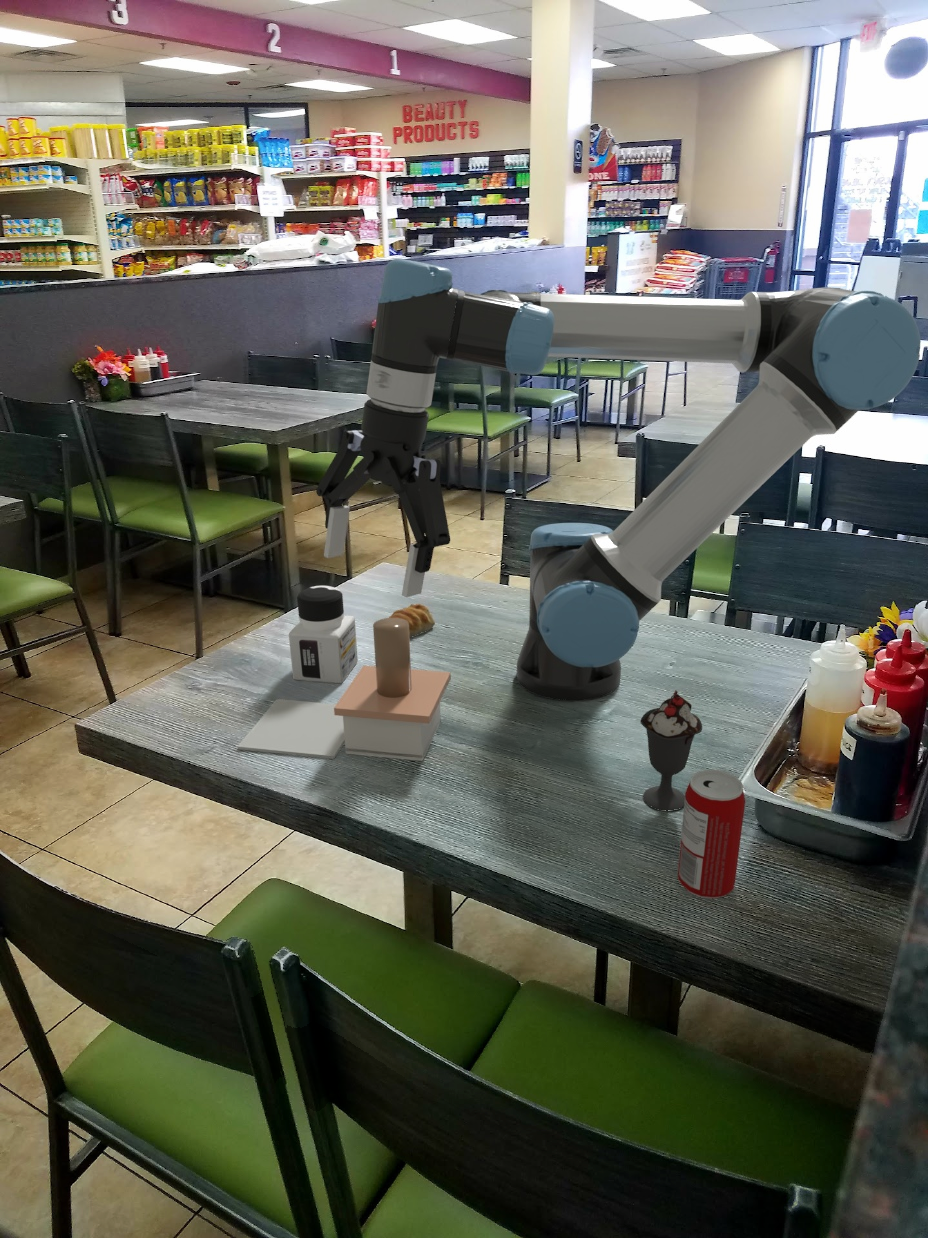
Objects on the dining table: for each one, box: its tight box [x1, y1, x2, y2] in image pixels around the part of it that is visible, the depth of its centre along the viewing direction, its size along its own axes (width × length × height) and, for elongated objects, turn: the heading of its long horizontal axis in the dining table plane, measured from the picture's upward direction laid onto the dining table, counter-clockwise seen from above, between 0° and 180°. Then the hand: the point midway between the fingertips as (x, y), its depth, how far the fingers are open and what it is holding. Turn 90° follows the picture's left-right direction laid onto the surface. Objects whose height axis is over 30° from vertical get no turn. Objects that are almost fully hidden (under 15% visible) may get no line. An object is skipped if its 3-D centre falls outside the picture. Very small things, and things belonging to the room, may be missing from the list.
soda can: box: [677, 769, 746, 900], centre depth 88 cm, size 6×6×12 cm
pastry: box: [388, 603, 436, 638], centre depth 148 cm, size 9×7×4 cm
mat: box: [236, 698, 345, 760], centre depth 120 cm, size 13×13×1 cm
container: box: [288, 585, 359, 684], centre depth 133 cm, size 8×8×13 cm
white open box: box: [343, 702, 442, 762], centre depth 116 cm, size 10×10×6 cm
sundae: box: [639, 690, 703, 812], centre depth 101 cm, size 7×7×15 cm
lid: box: [334, 617, 452, 724], centre depth 113 cm, size 12×12×10 cm
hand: (371, 574), depth 112 cm, fingers open, 13 cm apart
